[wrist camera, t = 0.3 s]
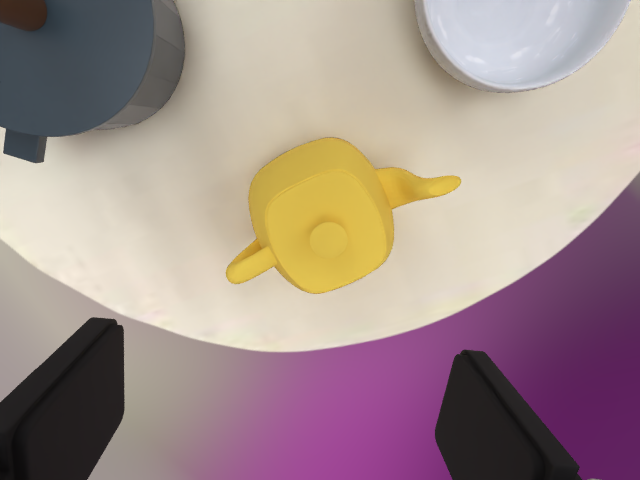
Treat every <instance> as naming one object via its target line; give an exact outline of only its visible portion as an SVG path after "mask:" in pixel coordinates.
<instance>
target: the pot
mask: <svg viewBox="0 0 640 480" xmlns="http://www.w3.org/2000/svg"><path fill="white" fill-rule="evenodd" d="M154 5H155V14H156V43H155V50H154V56H153V60H152V63H151V67H150V70H149V73H148V75H147V77H146V80H145V82H144V84H143V86H142V87H141V89H140V91H139V92H138V94H137V96H136V97H135V98H134V99H133V101H132V102H131V103H130V104H129V105H128V107H127V108H126V109H125V110H123V111H122V112H121V113H120V114H119V115H118V116H117V117H115V118H114V119H112V120H111V121H109V122H108V123H106V124H104V125H102V126H100V127H98V128H96V129H93V130H104V129H114V128H119V127H126V126H129V125H134V124H137V123H140V122H141V121H143V120H145V119H147V118H149V117H150V116H152V115H153V114H155V113H156V112H157V111H158V110H159V109H161V108H162V107H163V106H164V104H165V103H166V102H167V101H168V100H169V98H170V97H171V95H172V94H173V92H174V90H175V88H176V86H177V84H178V82H179V79H180V76H181V73H182V69H183V63H184V53H185V43H184V33H183V28H182V23H181V19H180V16H179V13H178V10H177V8H176V5H175V3H174V1H173V0H154ZM46 141H47V137H42V136H34V135H27V134H23V133H19V132H15V131H11V130H9V129H6V133H5V142H4V151H3V153H4V154H7V155H11V156H14V157H17V158H20V159H24V160H27V161H30V162H33V163H40V162H44V155H45V148H46Z"/></svg>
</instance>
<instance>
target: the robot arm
mask: <svg viewBox="0 0 640 480" xmlns="http://www.w3.org/2000/svg"><path fill="white" fill-rule="evenodd" d="M123 331H124V330H123V326H122V325H117V321H116V320H115V319H105V318H94V317H93V318H90V319H89V320H88V321H87V322H86V323H85V324H84V325H82V327H80V328H79V329H78V330H77V331H76V332H75V333H74V334H73V335H72V336H71V337H70V338H69V339H68V340H67V341H66V342H65V343H63V344H62V346H60V347H59V348H58V349H57V350H56V351H55V352H54V353H53V354H52V355H51V356H50V357H49V358H48V359H47V360H46V361H45V362H44V363H42V364H41V365H40V366H39V367H38V368H37V369H35V370H34V371H33V372H32V373H31V374H30V375H29V376H28V377H27V378H26V379H25V380H24V381H23V382H21V384H19V385H18V386H17V387H16V388H15V389H14V390H13V391H12V392H11V393H10V394H9V395H8V396H7V397H6V398H5V399H3V400H2V401H1V402H0V480H87V479H88V477H89V476H90V474H91V472H92V471H93V469H94V467H95V465H96V464H97V462H98V460H99V459H100V457H101V455H102V454H103V452H104V450H105V448H106V447H107V445H108V443H109V442H110V440H111V438H112V437H113V434H114V433H115V431H116V430H117V428H118V426H119V424H120V423H121V420H122V418H123V414H124V332H123ZM435 439H436V442H437V445H438V447H439V450H440V452H441V454H442V456H443V459H444V461H445V463H446V465H447V468H448V470H449V472H450V475H451V477H452V479H453V480H582V479H581V478H580V476H579V475H578V474H577V472H578V470H579V465H577V463H576V462H575V461H574V459H573V458H572V457H571V456H570V455H569V453H568V452H567V451H566V450H565V449H564V447H563V446H562V445H561V444H560V442H559V441H558V440H557V439H556V438H555V436H554V435H553V434H552V433H551V432H550V430H549V429H548V428H547V427H546V425H545V424H544V423H543V422H542V421H541V419H540V418H539V417H538V416H537V415H536V413H535V412H534V411H533V410H532V409H531V407H530V406H529V405H528V404H527V403H526V401H525V400H524V399H523V398H522V396H521V395H520V394H519V393H518V392H517V390H516V389H515V388H514V387H513V386H512V384H511V383H510V382H509V381H508V380H507V378H506V377H505V376H504V375H503V374H502V372H501V371H500V370H499V369H498V367H497V366H496V365H495V364H494V363H493V361H492V360H491V359H490V358H489V357H488V355H487V354H486V353H485V352H483V351H473V350H463V351H462V352H461V353H460V354H457V355H456V356H455V358H454V361H453V365H452V368H451V372H450V376H449V379H448V384H447V387H446V391H445V394H444V398H443V402H442V406H441V409H440V413H439V417H438V421H437V424H436V429H435ZM588 480H600V479H588Z"/></svg>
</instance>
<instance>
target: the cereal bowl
mask: <svg viewBox="0 0 640 480" xmlns="http://www.w3.org/2000/svg"><path fill="white" fill-rule="evenodd" d="M630 1H631V0H415V11H416V17H417V22H418V26H419V29H420V33H421V35H422V38H423V40H424V42H425V44H426V46H427V48H428V50H429V51H430V53H431V55H432V56H433V58H434V59H435V60H436V61H437V63H438V64H439V65H440V66H441V68H443V69H444V70H445V71H446V72H448V73H449V75H451V76H453V77H454V78H455V79H457V80H458V81H460V82H462V83H463V84H466V85H469V86H470V87H474V88H477V89H479V90H485V91H488V92H489V91H490V92H498V93H503V92H505V93H511V92H522V91H528V90H534V89H537V88H541V87H545V86H547V85H550V84H553V83H555V82H557V81H560V80H562V79H564V78H566V77H567V76H569V75H571V74H572V73H574V72H576V71H577V70H579V69H580V68H581V67H583V66H584V65H585V64H586V63H588V62H589V61H590V60H591V59H592V58H593V57H594V56H595V55H596V54H597V53H598V52H599V51H600V50H601V49H602V48H603V47H604V46H605V44H606V43H607V42H608V41H609V39H610V38H611V37H612V35H613V34H614V32H615V31H616V29H617V28H618V26H619V24H620V23H621V21H622V19H623V17H624V15H625V13H626V11H627V9H628V6H629V4H630Z"/></svg>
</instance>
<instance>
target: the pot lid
mask: <svg viewBox="0 0 640 480" xmlns="http://www.w3.org/2000/svg"><path fill="white" fill-rule="evenodd" d="M155 43H156V14H155V5H154V0H0V126H1V127H3V128H6V129H9V130H11V131H15V132H19V133H23V134H27V135H34V136H42V137H62V136H70V135H77V134H81V133H84V132H88V131H91V130H93V129H96V128H98V127H100V126H102V125H104V124H106V123H108V122H109V121H111V120H112V119H114V118H115V117H117V116H118V115H119V114H120V113H121V112H122V111H123V110H125V109H126V108H127V107H128V105H129V104H130V103H131V102H132V101H133V99H134V98H135V97H136V96H137V94H138V92H139V91H140V89H141V87H142V86H143V84H144V82H145V80H146V77H147V75H148V73H149V70H150V67H151V63H152V60H153V56H154V50H155Z"/></svg>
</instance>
